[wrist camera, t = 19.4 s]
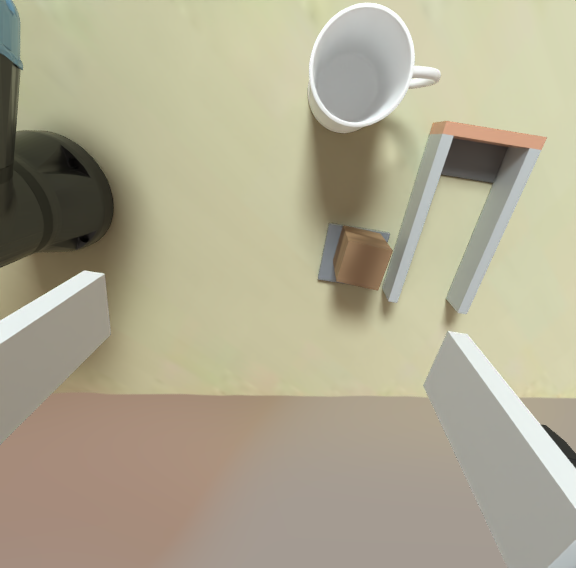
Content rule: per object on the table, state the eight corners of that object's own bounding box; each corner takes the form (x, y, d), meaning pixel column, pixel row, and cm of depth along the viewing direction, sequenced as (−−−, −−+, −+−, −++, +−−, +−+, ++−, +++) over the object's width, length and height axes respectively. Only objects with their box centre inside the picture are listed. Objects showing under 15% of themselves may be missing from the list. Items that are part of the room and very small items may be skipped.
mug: (424, 50, 33) (478, 7, 22) (404, 139, 37) (442, 139, 26) (312, 40, 33) (312, -8, 23) (303, 129, 37) (300, 125, 26)
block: (332, 260, 43) (336, 281, 37) (342, 225, 41) (348, 240, 34) (368, 268, 43) (378, 290, 37) (380, 233, 41) (392, 250, 35)
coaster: (317, 277, 45) (317, 279, 44) (329, 222, 41) (329, 223, 41) (373, 286, 45) (373, 288, 44) (388, 232, 41) (390, 233, 41)
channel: (382, 288, 45) (388, 301, 41) (433, 122, 36) (446, 120, 32) (454, 300, 45) (466, 314, 41) (523, 137, 36) (546, 137, 32)
